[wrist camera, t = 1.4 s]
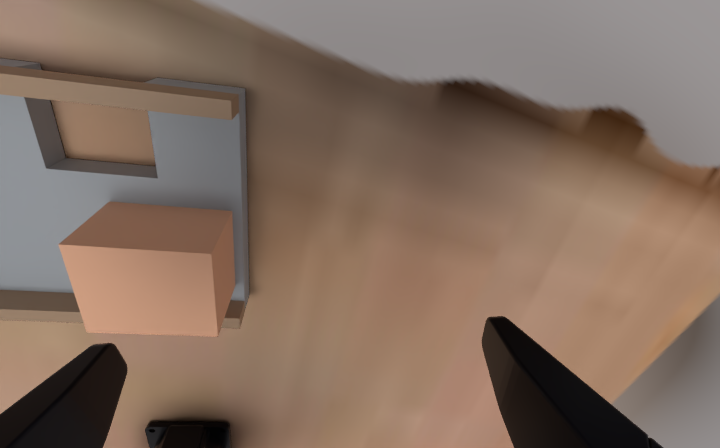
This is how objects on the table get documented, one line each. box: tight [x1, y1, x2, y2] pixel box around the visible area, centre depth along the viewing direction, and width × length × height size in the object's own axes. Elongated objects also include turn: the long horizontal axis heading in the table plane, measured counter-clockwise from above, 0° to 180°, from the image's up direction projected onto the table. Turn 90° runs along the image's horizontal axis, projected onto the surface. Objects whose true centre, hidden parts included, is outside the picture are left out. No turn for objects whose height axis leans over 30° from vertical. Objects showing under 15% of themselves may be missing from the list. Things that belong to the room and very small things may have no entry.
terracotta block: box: [58, 201, 235, 337], centre depth 18 cm, size 5×6×4 cm
